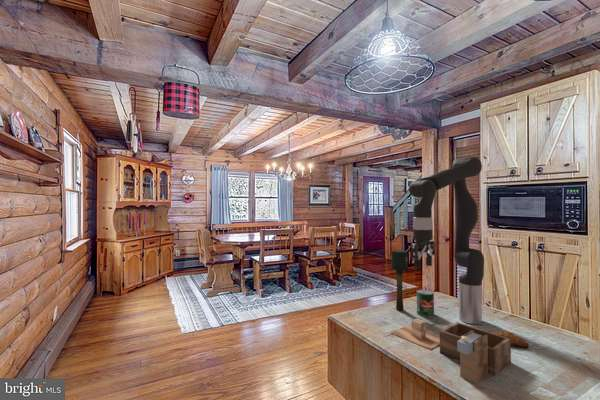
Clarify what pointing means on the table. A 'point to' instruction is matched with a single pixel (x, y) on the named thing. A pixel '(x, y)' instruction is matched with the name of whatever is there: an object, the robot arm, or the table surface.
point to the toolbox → (476, 351)
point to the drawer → (467, 343)
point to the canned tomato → (425, 303)
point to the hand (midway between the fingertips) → (423, 267)
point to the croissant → (513, 339)
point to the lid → (418, 334)
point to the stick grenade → (399, 273)
